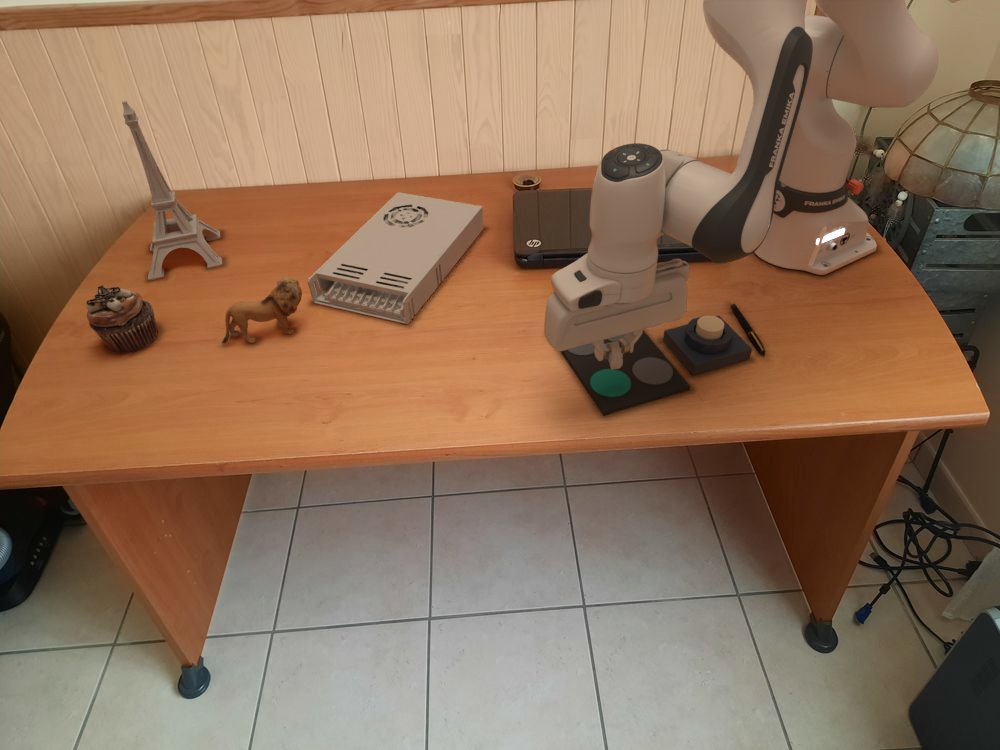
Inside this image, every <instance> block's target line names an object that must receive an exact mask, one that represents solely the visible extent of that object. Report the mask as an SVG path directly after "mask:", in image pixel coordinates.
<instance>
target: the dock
mask: <svg viewBox="0 0 1000 750" xmlns="http://www.w3.org/2000/svg"><path fill="white" fill-rule="evenodd" d="M715 316H716V315H715ZM700 317H701V316H698V317H694V318H692V319H691V320H690V321H689V322H688V323H687V324H683V325H680V326H675V327H673V328H668V329H665V330H664V331H663V337H662V342H663V343H664V344H665V345H666V347H667V348H668V349H669V350H670V351H671V352H672V354H673V355H674V356H675V358H676V359H678V361H679V363H681V364H682V365H683V367H684V368H685V369H686V370H687V371H688V372H689V373H690V375H691V376H692V377H693V376H697V375H701V374H705V373H707V372H711V371H714V370H718V369H721V368H724V367H727V366H731V365H735V364H739V363H742V362H746V361H749V360H750V359H751V355H752V352H753V348H752V347H751V346H750V345H749V344H748V343H747V342H746V341H745V340H744V339H743V338H742V337H741V336H740V335H739V334H738V332H736V331H735V330H734V329H733V327H732V326H731V325H729V324H728V323H727V322H726V320H724V319H723V318H722V317H721V316H720V315H717V316H716V317H718V318H720V319H721V320H722V321H723V322H724V330H723V334H722V336H721V338H719V339H716V340H706V339H704V338H701V337H699V336H698V335H697V334H696V326H697V321H698V319H699V318H700Z"/></svg>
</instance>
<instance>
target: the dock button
mask: <svg viewBox="0 0 1000 750" xmlns="http://www.w3.org/2000/svg"><path fill="white" fill-rule="evenodd" d="M699 317H700V318H699V319H698V321H697V326H696V334H697V335H698V336H699V337H701V338H704V339H706V340H716V339H719V338H721V336H722V334H723V330H724V322H723V321H722V320H721V319H720V318H718V317H716V315H711V314H710V315H709V314H708V315H707V314H706V315H703V316H699Z"/></svg>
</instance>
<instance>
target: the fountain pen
mask: <svg viewBox="0 0 1000 750" xmlns="http://www.w3.org/2000/svg"><path fill="white" fill-rule="evenodd" d="M729 304H730V306H731V307H730V308H731V309H732V311H733V312H734V314H735V316H736V317H737V319H738V321H739V323H740V325H741V326H742V328H743V329H744V331H745V332H746V335H747V337H748V338H749V340H750V341H751V343H752V344H753V345H754V347H755V348H756V350H757V351H758V352H759V353H760V354H762V355H766V349H765V346H764V345H763V343H762V340H761V339H760V338H759V336H758V334H757V333H756V331H755V330H754V329H753V328H752V326H751V325H750V322H748V320H747V319H746V317H745V316H744V315H743V313H742V311H741V310H740V309H739V308H738V306H737V304H736V303H734V301H732V300H730V299H729Z"/></svg>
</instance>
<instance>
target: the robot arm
mask: <svg viewBox="0 0 1000 750" xmlns="http://www.w3.org/2000/svg"><path fill="white" fill-rule="evenodd" d="M807 3H808V0H703V1H702V11H703V17H704V21H705V23H706V28H707V29H708V31H709V33H710V35H711V36H712V38H713V40H714V41H715V42H716V44H717V45H718V46H719V47H720V48H721V49H722V50H723V51H724V52H725V53H726V54H727V55H728V56H729V57H730V58H731V59H732V60H733V61H734V62H735V63H737V64H738V65H739V67H740V68H741V69H742V70H743V71H744V72H745V74H746V76H747V77H748V79H749V82H750V84H751V87H752V95H753V96H752V97H753V100H752V107H751V111H750V113H749V114H750V115H749V117H748V122H747V125H746V130H745V133H744V136H743V139H742V144H741V148H740V151H739V155H738V159H737V162H736V166H735V168H734V170H733V172H732V173H731V172H728V171H725V170H723V169H721V168H717V167H715V166H713V165H710V164H708V163H705V162H703V161H701V160H699V159H697V158H695V157H692V156H689V155H687V154H684V153H682V152H679V151H675V150H672V149H660V150H659V149H658V148H656V147H655V146H653V145H650V144H647V143H640V142H639V143H636V142H635V143H627V144H622V145H619V146H617V147H615V148H612V149H611V150H609V151H608V152H606V153H605V154H604V155H603V156H602V157H601V159H600V161H599V164H598V166H597V169H596V172H595V175H594V179H593V183H592V184H593V185H592V188H591V194H590V204H589V220H588V222H589V223H588V225H589V229H590V233H591V239H590V242H589V245H588V248H587V253H585V254H584V255H583V256H581V257H579V258H578V259H576V260H575V261H574V262H571V263H570V264H568V265H567V266H564V267H563V268H561V269H559V270H557V271H556V272H554V273H553V274H552V275H551V277H550V284H551V286H552V288H553V292H552V293H551V294H550V295H549V297H548V300H547V302H546V307H545V314H544V323H543V324H544V325H543V327H544V330H543V331H544V332H543V333H544V336H545V338H546V340H547V342H548V344H549V345H550V346H551V348H553V349H554V350H555V351H557V352H559V353H561V351H564V350H568V349H571V348H575V347H579V346H583V345H586V344H590V343H592V344H593V345H594V346H595V357H596V358H597V359H598V361H603V360H606V359H609V354H610V350H609V349H608V348H607V347H606V345H605V344H604V340H605V339H609V338H612V337H616V336H620V335H623V334H626V335H625V337H624V338H621V339H619V343H620V350H621V352H622V354H623V355H624V354H628V353H631V352H633V347H634V344H635V343H636V341H637V340H638V339H639V337H640V336H641V335H642V333H643V330H645V329H649V328H653V327H656V326H660V325H663V324H667V323H668V324H669V323H672V322H676V321H678V320H681V319H682V318H683V317H684V315H685V314H686V313H687V308H688V300H689V299H688V297H689V296H688V295H689V293H688V292H689V291H688V282H687V281H688V280H689V276H690V271H691V267H690V264H689V262H687V261H685V260H682V259H681V258H673V259H671V260H668V261H662V262H658V260H659V248H658V239H659V238H660V237H662V236H664V235H667V236H669V237H671V238H673V239H675V240H677V241H679V242H681V243H683V244H685V245H687V246H689V247H691V248H692V249H693V250H694V251H696V252H697V253H699V254H701V255H702V256H704V257H706V258H707V259H709V260H710V261H712V262H714V263H715V264H727V263H732V262H734V261H739V260H742V259H743V258H746V257H748V256H750V255H752V254H755V255H756V256H757V257H758V258H760V259H761V260H763V261H765V262H766V263H768V264H771V265H773V266H776V267H780V268H784V269H788V270H797V271H804V272H806V273H807V272H808V273H811V274H814V275H819V276H825V275H827V274H829V273H832V272H833V271H836V270H838V269H840V268H843V267H845V266H848V265H849V264H851V263H854V262H856V261H857V260H860V259H862V258H864V257H866V256H868V255H871V254H873V253H875V252H876V251H877V248H878V244H877V241H876V240H875V239H874V237H873V236H872V235H871V234H870V233H869V232H868V230H869V217H868V215H867V213H866V212H865V211H864V210H863V209H862V208H861V207H860V204H861V202H860V201H859V200H856V199H853V198H851V197H849V193H848V192H849V191H850V192H851V193H852V194H854V195H859V194H860V193H861V192H862V191H863V189H864V184H863V183H862V182H860V181H858V180H857V179H855V178H852V179H848V173H849V171H850V167H851V164H852V162H853V158H854V155H855V151H856V148H857V135H856V133H855V131H854V128H853V126H852V125H851V124H850V123H849V122H848V121H847V120H846V119H844V117H843V116H841V115H840V114H839V112H838V111H837V109H836V108H835V106H834V102H833V101H838V102H839V101H840V102H845V103H849V104H853V105H859V106H863V107H867V108H868V107H869V108H881V109H882V108H884V109H885V108H887V109H890V108H891V109H892V108H906V107H908V106H910V105H911V104H913V103H915V102H916V101H917V100H918V99H920V98H921V97H922V96H923V95H924V94H925V93H926V92H927V90H928V89H929V88H930V86H931V84H932V83H933V81H934V79H935V77H936V75H937V71H938V67H939V54H938V50H937V46H936V43H935V42H934V40H933V39H932V38H931V37H930V36H929V35H927V34H926V33H925V32H924V31H923V30H922V29H921V28H920V27H919V26H918V24H917V23H916V21H915V20H914V18H913V17H912V15H911V13H910V10H909V8H908V6H907V3H906V0H814V3H815V4H816V6H817V8H818V9H819V10H820V11H821V13H822V14H823V15H825V16H822V15H815V14H807V15H806V9H807Z"/></svg>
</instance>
